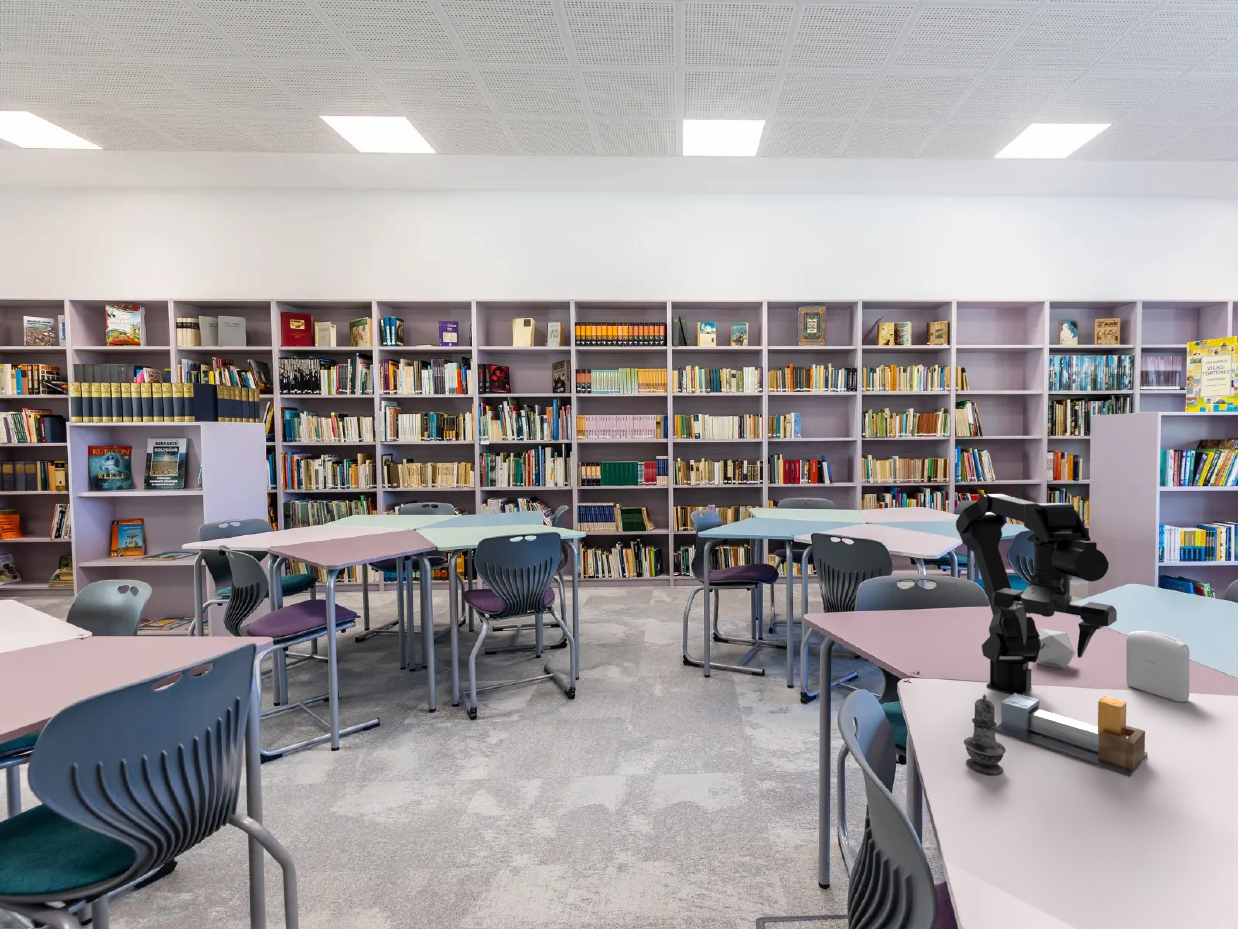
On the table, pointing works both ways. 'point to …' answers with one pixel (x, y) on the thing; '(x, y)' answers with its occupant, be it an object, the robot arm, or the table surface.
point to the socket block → (1122, 747)
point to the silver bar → (1082, 724)
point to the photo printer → (1158, 665)
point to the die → (1055, 649)
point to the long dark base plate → (1017, 727)
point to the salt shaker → (984, 741)
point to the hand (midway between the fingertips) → (1050, 650)
